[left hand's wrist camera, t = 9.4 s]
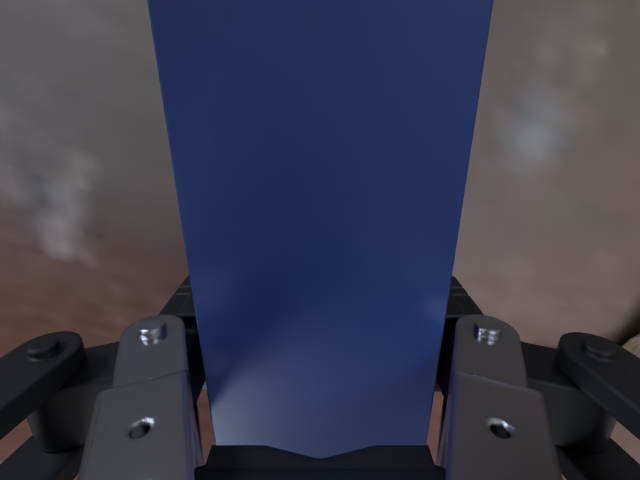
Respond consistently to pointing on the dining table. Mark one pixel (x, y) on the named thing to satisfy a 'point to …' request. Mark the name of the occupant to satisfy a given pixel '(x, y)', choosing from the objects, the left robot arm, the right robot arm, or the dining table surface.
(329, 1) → the bar
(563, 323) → the dining table surface
